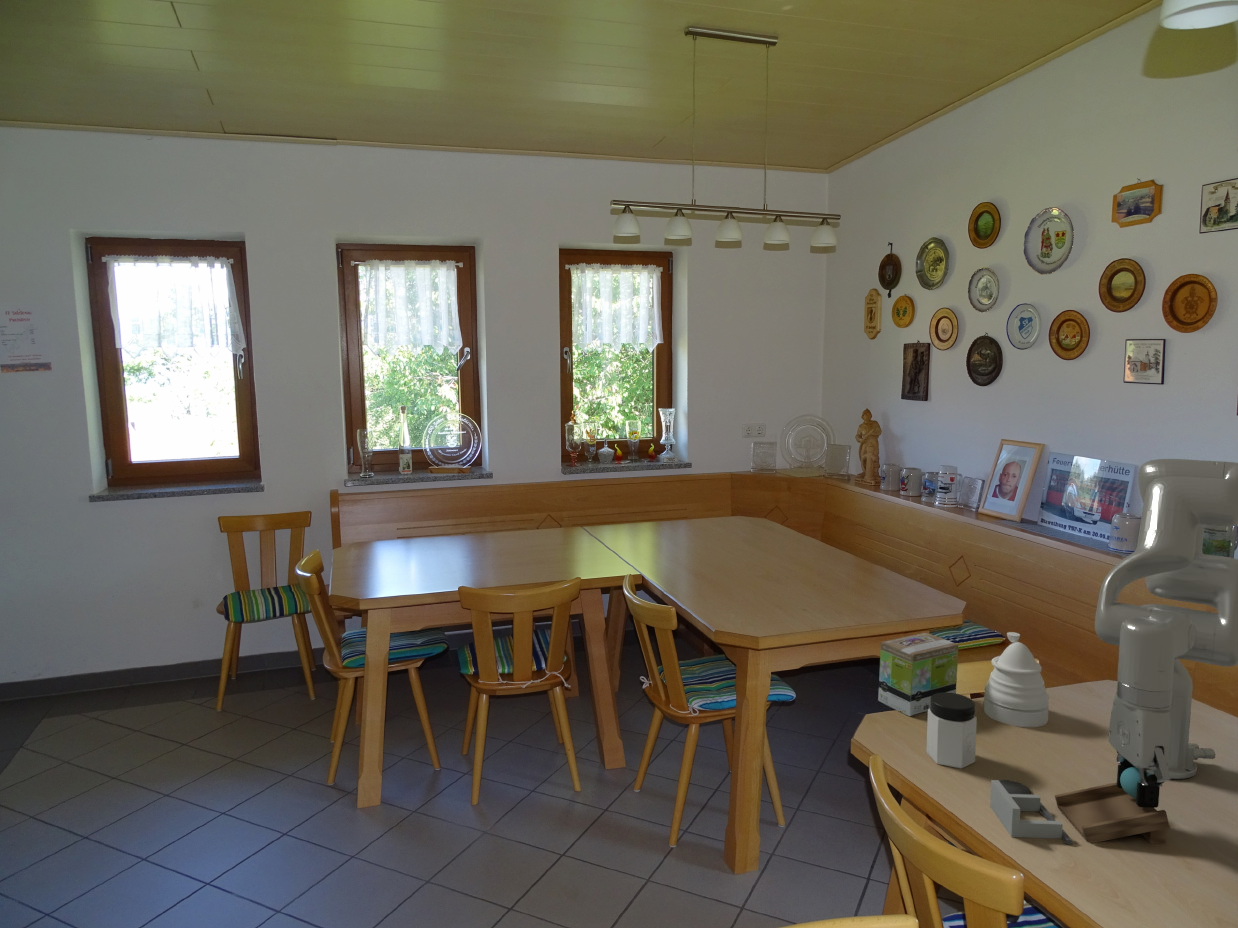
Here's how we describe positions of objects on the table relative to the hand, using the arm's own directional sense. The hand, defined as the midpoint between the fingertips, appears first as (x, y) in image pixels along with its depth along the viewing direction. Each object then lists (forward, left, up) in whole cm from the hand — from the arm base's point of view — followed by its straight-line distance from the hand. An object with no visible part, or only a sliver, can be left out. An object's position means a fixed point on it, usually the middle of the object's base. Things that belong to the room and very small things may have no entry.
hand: (1136, 795), depth 130 cm
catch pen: (+18, 0, -5) cm, 18 cm away
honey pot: (+2, -43, -6) cm, 43 cm away
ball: (0, 0, +2) cm, 2 cm away
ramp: (+4, 0, -5) cm, 7 cm away
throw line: (+14, 0, -5) cm, 15 cm away
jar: (+23, -22, -6) cm, 32 cm away
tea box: (+22, -48, -6) cm, 53 cm away
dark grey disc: (+16, -10, -5) cm, 20 cm away
